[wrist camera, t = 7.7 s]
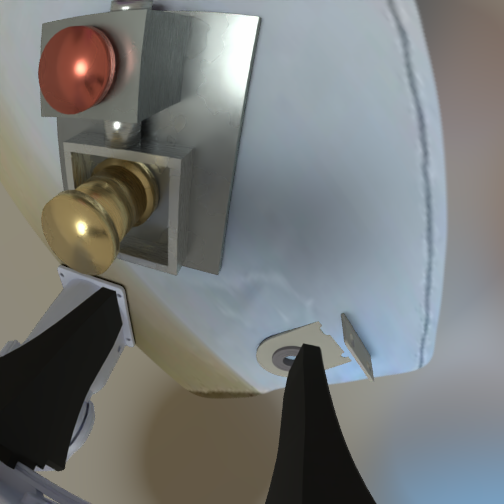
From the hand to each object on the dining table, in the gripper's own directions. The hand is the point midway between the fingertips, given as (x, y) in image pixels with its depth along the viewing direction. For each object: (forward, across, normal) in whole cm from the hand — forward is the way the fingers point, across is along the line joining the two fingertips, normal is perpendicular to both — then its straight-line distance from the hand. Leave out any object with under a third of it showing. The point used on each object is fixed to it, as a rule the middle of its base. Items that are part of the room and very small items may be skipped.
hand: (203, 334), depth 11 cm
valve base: (+10, +8, -2) cm, 13 cm away
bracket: (+11, -8, +13) cm, 19 cm away
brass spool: (+10, +8, +1) cm, 13 cm away
